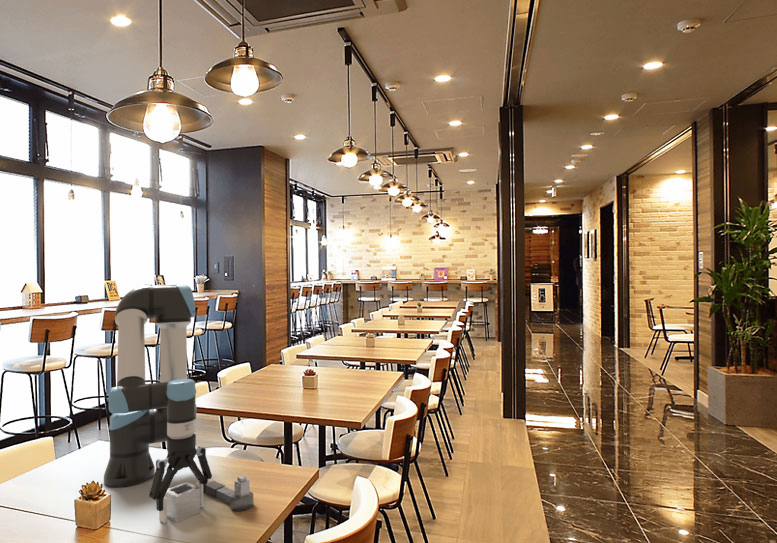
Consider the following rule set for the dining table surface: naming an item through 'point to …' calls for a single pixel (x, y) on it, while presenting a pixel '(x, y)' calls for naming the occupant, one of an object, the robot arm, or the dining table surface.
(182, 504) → the socket
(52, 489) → the dining table surface
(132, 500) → the dining table surface
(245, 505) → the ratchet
